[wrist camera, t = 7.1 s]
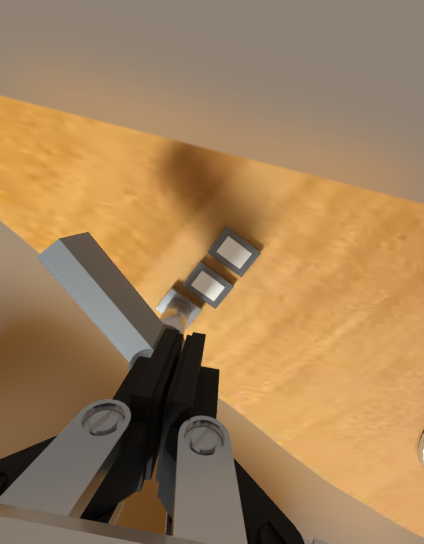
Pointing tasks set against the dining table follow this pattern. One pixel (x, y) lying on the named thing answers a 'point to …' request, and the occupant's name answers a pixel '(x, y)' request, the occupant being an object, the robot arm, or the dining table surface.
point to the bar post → (178, 310)
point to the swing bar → (104, 295)
